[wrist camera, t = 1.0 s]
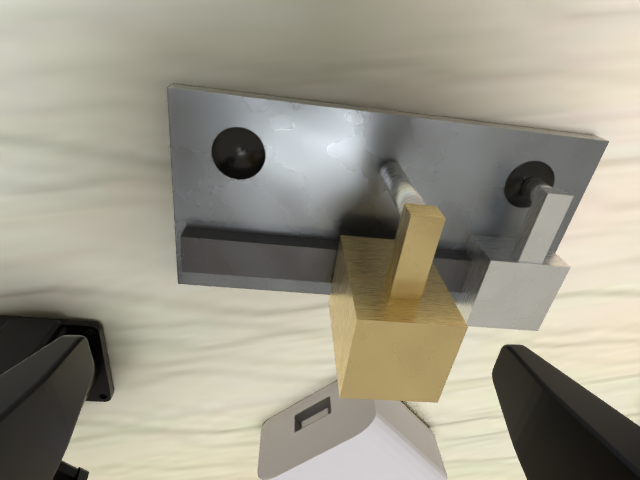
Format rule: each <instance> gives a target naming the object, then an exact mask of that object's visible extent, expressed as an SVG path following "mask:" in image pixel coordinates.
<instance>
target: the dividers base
mask: <svg viewBox="0 0 640 480" xmlns="http://www.w3.org/2000/svg"><path fill="white" fill-rule="evenodd" d="M167 93H168V111H169V129H170V147H171V165H172V183H173V201H174V219H175V237H176V255H177V273H178V284H189V285H203V286H216V287H230V288H244V289H258V290H272V291H286V292H300V293H314V294H328V295H330V293H331V287H332V281H333V276H334V270H335V264H336V258H337V253H338V247H339V241H340V235H345V236H356V237H368V238H379V239H390V240H395V238H396V234H397V230H398V226H399V222H400V218H401V215H400V213H399V211H398V209H397V208H396V206H395V204H394V202H393V200H392V198H391V196H390V194H389V192H388V190H387V188H386V186H385V184H384V182H383V180H382V178H381V176H380V170H381V168H382V166H383V165H384V164H386V163H388V162H396V163H398V164H399V165H400V167H401V168H402V170H403V171H404V173H405V174H406V176H407V177H408V178H409V180H410V181H411V183H412V184H413V186H414V187H415V189H416V190H417V192H418V193H419V195H420V196H421V198H422V199H423V201H424V202H425V204H426V205H431V206H437V207H438V208H439V210H440V211H441V213H442V214H443V215H444V217H445V218H446V220H445V223H444V226H443V229H442V232H441V236H440V239H439V242H438V245H437V248H436V252H435V255H434V258H433V261H432V262H433V263H434V265H435V267H436V269H437V271H438V273H439V274H440V276H441V278H442V280H443V282H444V284H445V285H446V287H447V289H448V291H449V293H450V295H451V296H452V298H453V300H454V302H455V304H456V306H457V307H458V309H459V311H460V313H461V315H462V317H463V319H464V320H465V322H466V324H467V326H472V327H488V328H503V329H518V330H533V331H538V329H539V327H540V325H541V324H542V322H543V320H544V318H545V316H546V314H547V312H548V310H549V308H550V306H551V304H552V302H553V300H554V298H555V296H556V294H557V292H558V291H559V289H560V287H561V285H562V283H563V281H564V279H565V277H566V275H567V273H568V271H569V269H570V266H569V265H567V264H566V263H565V262H564V261H563V260H562V259H561V258H560V257H559V256H558V255H557V254H556V253H555V252H556V250H557V248H558V246H559V244H560V242H561V240H562V238H563V236H564V234H565V232H566V229H567V227H568V225H569V223H570V221H571V219H572V217H573V215H574V213H575V211H576V209H577V207H578V205H579V203H580V200H581V198H582V196H583V194H584V192H585V190H586V188H587V186H588V184H589V182H590V180H591V178H592V176H593V174H594V172H595V169H596V167H597V165H598V163H599V161H600V159H601V157H602V155H603V153H604V151H605V149H606V147H607V145H608V143H609V141H607V140H605V139H602V138H600V137H598V136H595V135H587V134H579V133H571V132H562V131H554V130H546V129H538V128H530V127H522V126H514V125H506V124H497V123H489V122H481V121H473V120H465V119H457V118H449V117H441V116H433V115H424V114H416V113H408V112H400V111H392V110H384V109H376V108H368V107H360V106H351V105H343V104H335V103H327V102H319V101H311V100H303V99H295V98H287V97H278V96H270V95H262V94H254V93H246V92H238V91H230V90H222V89H214V88H205V87H197V86H189V85H181V84H172V85H170V86H169V87H167Z"/></svg>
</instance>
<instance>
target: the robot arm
mask: <svg viewBox="0 0 640 480" xmlns="http://www.w3.org/2000/svg"><path fill="white" fill-rule="evenodd" d="M90 329H91V330H93V331H91V330H90ZM492 378H493V383H494V386H495V389H496V393H497V396H498V399H499V402H500V405H501V409H502V412H503V415H504V418H505V422H506V425H507V428H508V431H509V434H510V437H511V440H512V443H513V446H514V449H515V451H516V454H517V456H518V459H519V461H520V464H521V466H522V468H523V471H524V473H525V475H526V478H527V480H640V426H638V425H637V424H635V423H634V422H633V421H631V420H630V419H628V418H627V417H625V416H624V415H623V414H621V413H620V412H618V411H617V410H615V409H614V408H613V407H611V406H610V405H608V404H607V403H605V402H604V401H603V400H601V399H600V398H598V397H597V396H595V395H594V394H593V393H591V392H590V391H588V390H587V389H585V388H584V387H583V386H581V385H580V384H578V383H577V382H575V381H574V380H572V379H571V378H570V377H568V376H567V375H565V374H564V373H562V372H561V371H560V370H558V369H557V368H555V367H554V366H552V365H551V364H550V363H548V362H547V361H545V360H544V359H542V358H541V357H540V356H538V355H537V354H535V353H534V352H532V351H531V350H530V349H528V348H527V347H525V346H523V345H504V346H503V347H502V348H501V351H500V353H499V356H498V358H497V360H496V363H495V365H494V368H493V372H492ZM113 393H114V391H113V386H112V380H111V375H110V369H109V363H108V358H107V352H106V347H105V341H104V336H103V330H102V327H101V325H100V324H99V323H97V322H93V321H80V320H63V319H47V318H30V317H14V316H0V480H87V478H88V474H89V472H88V471H87V470H85V469H83V468H81V467H79V468H76V467H74V466H72V465H70V464H68V463H66V462H64V461H62V458H63V456H64V453H65V451H66V449H67V447H68V444H69V441H70V439H71V436H72V433H73V431H74V428H75V425H76V422H77V419H78V416H79V414H80V411H81V408H82V406H83V404H84V402H85V401H99V402H106V401H109V400H110V399H111V398H112V396H113Z"/></svg>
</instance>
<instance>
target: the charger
mask: <svg viewBox="0 0 640 480" xmlns="http://www.w3.org/2000/svg"><path fill="white" fill-rule="evenodd" d="M329 396H330V397H329ZM327 397H329V398H327ZM325 398H327V399H325ZM324 399H325V400H324ZM322 400H323V401H322ZM320 401H322V402H320ZM318 402H320V403H318ZM316 403H318V404H316ZM315 404H316V405H315ZM313 405H314V406H313ZM311 406H313V407H311ZM309 407H311V408H309ZM307 408H309V409H307ZM305 409H307V410H305ZM304 410H305V411H304ZM302 411H303V412H302ZM300 412H302V413H300ZM298 413H300V414H298ZM296 414H298V415H296ZM295 415H296V416H295ZM258 477H259V478H260V479H262V480H447V474H446V471H445V467H444V464H443V461H442V458H441V455H440V452H439V449H438V446H437V443H436V440H435V436H434V434H433V433H432V431H431V430H430V429H429V428H428V427H427V426H426V425H425V424H423V423H422V422H421V421H420V420H419V419H418V418H417V417H416V416H415V415H414V414H413V413H412V412H411V411H410V410H409V409H408V408H407V407H406V406H405V405H404V404H403V403H402V402H401V401H393V400H371V399H348V398H340V397H339V388H338V380H336V381H335V382H333V383H331V384H329V385H328V386H326V387H324V388H322V389H321V390H319V391H317V392H315V393H313V394H312V395H310V396H308V397H306V398H305V399H303V400H301V401H299V402H298V403H296V404H294V405H292V406H290V407H289V408H287V409H285V410H283V411H282V412H280V413H278V414H276V415H275V416H273V417H271V418H269V419H268V420H267V421H266V422H265V424H264V425H263V427H262V430H261V440H260V451H259V462H258Z"/></svg>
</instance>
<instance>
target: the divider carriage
mask: <svg viewBox="0 0 640 480" xmlns="http://www.w3.org/2000/svg"><path fill="white" fill-rule="evenodd" d="M380 176H381V178H382V180H383V182H384V184H385V186H386V188H387V190H388V192H389V194H390V196H391V198H392V200H393V202H394V204H395V206H396V208H397V209H398V211H399V213H400V215H401V218H400V222H399V226H398V230H397V234H396V238H395V240H390V239H379V238H368V237H356V236H345V235H340V241H339V247H338V253H337V258H336V264H335V270H334V276H333V281H332V287H331V293H330V299H329V307H330V316H331V325H332V334H333V343H334V352H335V361H336V370H337V379H338V388H339V397H340V398H348V399H371V400H393V401H416V402H438V400H439V398H440V395H441V393H442V390H443V388H444V385H445V383H446V380H447V378H448V375H449V373H450V370H451V368H452V365H453V363H454V360H455V358H456V355H457V353H458V350H459V348H460V345H461V343H462V341H463V338H464V336H465V333H466V331H467V328H468V326H467V324H466V322H465V320H464V319H463V317H462V315H461V313H460V311H459V309H458V307H457V306H456V304H455V302H454V300H453V298H452V296H451V295H450V293H449V291H448V289H447V287H446V285H445V284H444V282H443V280H442V278H441V276H440V274H439V273H438V271H437V269H436V267H435V265H434V263H433V262H432V261H433V258H434V255H435V252H436V248H437V245H438V242H439V239H440V236H441V232H442V229H443V226H444V223H445V220H446V218H445V217H444V215H443V214H442V213H441V211H440V210H439V208H438V207H437V206H431V205H426V204H425V202H424V201H423V199H422V198H421V196H420V195H419V193H418V192H417V190H416V189H415V187H414V186H413V184H412V183H411V181H410V180H409V178H408V177H407V176H406V174H405V173H404V171H403V170H402V168H401V167H400V165H399V164H398V163H396V162H388V163H386V164H384V165H383V166H382V168H381V170H380Z"/></svg>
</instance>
